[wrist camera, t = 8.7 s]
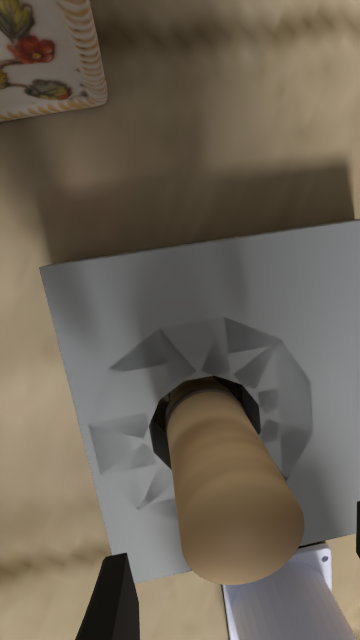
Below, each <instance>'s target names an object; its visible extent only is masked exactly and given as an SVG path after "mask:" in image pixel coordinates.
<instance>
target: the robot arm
mask: <svg viewBox="0 0 360 640" xmlns="http://www.w3.org/2000/svg"><path fill="white" fill-rule="evenodd" d="M356 553H357V554H358V556H359V558H360V501H358V502H357V531H356ZM222 585H223V593H224V600H225V607H226V614H227V621H228V629H229V636H230V640H357V639H356V637H355V635H354V633H353V631H352V629H351V628H350V626H349V624H348V622H347V620H346V618H345V616H344V615H343V613H342V611H341V609H340V607H339V605H338V603H337V602H336V600H335V598H334V596H333V594H332V581H331V549H330V548H329V546H328V545H327V544H325V543H321V544H317V545H313V546H308V547H304V548H300V549H297V551H296V552H295V553H294V555H293V556H292V557H291V558H290V560H289V561H288V562H287V563H286V564H285V565H284V566H282V567H281V568H280V569H278V570H277V571H276V572H274V573H272V574H271V575H269V576H267V577H265V578H262V579H260V580H257V581H254V582H250V583H246V584H239V585H224V584H222ZM75 640H140V628H139V601H138V597H137V593H136V589H135V585H134V580H133V576H132V572H131V568H130V564H129V559H128V555H127V552H126V553H121V554H117V555H112V556H108V557H106V558H105V559H104V560H103V562H102V566H101V569H100V572H99V576H98V579H97V582H96V585H95V588H94V591H93V594H92V596H91V599H90V602H89V605H88V608H87V610H86V613H85V616H84V619H83V621H82V624H81V626H80V629H79V631H78V634H77V636H76V639H75Z"/></svg>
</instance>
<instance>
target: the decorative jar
mask: <svg viewBox="0 0 360 640" xmlns="http://www.w3.org/2000/svg"><path fill="white" fill-rule="evenodd" d="M98 43H99V41H98V38H97V33H96V28H95V24H94V19H93V14H92V10H91V4H90V0H0V122H2V121H8V120H15V119H22V118H28V117H33V116H39V115H45V114H50V113H57V112H64V111H68V110H77V109H84V108H91V107H96V106H100V105H102V104H105V103H106V102H107V100H108V89H107V84H106V80H105V75H104V68H103V64H102V58H101V53H100V47H99V44H98Z"/></svg>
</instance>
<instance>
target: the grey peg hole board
mask: <svg viewBox="0 0 360 640" xmlns="http://www.w3.org/2000/svg"><path fill="white" fill-rule="evenodd" d="M39 269H40V273H41V277H42V281H43V285H44V289H45V293H46V297H47V301H48V305H49V309H50V313H51V316H52V320H53V324H54V328H55V332H56V336H57V340H58V344H59V348H60V352H61V356H62V360H63V363H64V367H65V371H66V375H67V379H68V383H69V387H70V391H71V395H72V399H73V403H74V407H75V410H76V414H77V418H78V422H79V426H80V430H81V434H82V438H83V442H84V446H85V450H86V454H87V457H88V461H89V465H90V469H91V473H92V477H93V481H94V485H95V489H96V493H97V497H98V501H99V505H100V508H101V512H102V516H103V520H104V524H105V528H106V532H107V536H108V540H109V544H110V548H111V552H112V555H117V554H121V553H126V552H127V555H128V559H129V564H130V568H131V572H132V576H133V580H134V584H136V583H140V582H145V581H149V580H154V579H158V578H162V577H167V576H171V575H175V574H180V573H184V572H189V571H193V570H192V569H191V568H190V567H189V566H188V564H187V563H186V561H185V559H184V556H183V553H182V549H181V541H180V533H179V525H178V517H177V509H176V501H175V493H174V485H173V477H172V468H171V460H170V452H169V444H168V441H167V436H166V433H165V432H164V431H163V430H162V429H161V428H160V427H159V426H158V425H157V424H156V423H155V422H154V421H153V420H152V417H153V415H154V412H155V410H156V408H157V405H158V403H159V400H160V399H161V398H163V397H164V396H165V395H167V394H168V393H169V392H171V391H172V390H173V389H174V388H176V387H177V386H178V385H180V384H181V383H182V382H184V381H187V380H192V379H198V378H204V377H209V376H218V377H221V378H224V379H227V380H230V381H233V382H236V383H239V384H241V387H242V398H243V403H242V407H243V409H244V411H245V413H246V416H247V417H248V419H249V421H250V422H251V424H252V426H253V427H254V429H255V431H256V433H257V434H258V436H259V438H260V439H261V441H262V443H263V444H264V446H265V448H266V449H267V451H268V453H269V454H270V456H271V458H272V459H273V461H274V463H275V465H276V466H277V468H278V470H279V471H280V473H281V475H282V476H283V478H284V480H285V481H286V483H287V485H288V486H289V488H290V490H291V491H292V493H293V495H294V497H295V498H296V500H297V502H298V503H299V505H300V507H301V509H302V511H303V515H304V522H305V527H304V534H303V538H302V541H301V543H300V545H299V546H303V545H307V544H311V543H316V542H320V541H325V540H329V539H333V538H338V537H342V536H346V535H351V534H355V533H356V531H357V502H358V501H360V219H355V220H348V221H341V222H334V223H328V224H321V225H314V226H307V227H300V228H293V229H286V230H279V231H273V232H266V233H259V234H252V235H245V236H238V237H231V238H224V239H218V240H211V241H204V242H197V243H190V244H183V245H176V246H169V247H163V248H156V249H149V250H142V251H135V252H128V253H121V254H114V255H108V256H101V257H94V258H87V259H80V260H73V261H66V262H59V263H55V264H51V265H47V266H43V267H39Z"/></svg>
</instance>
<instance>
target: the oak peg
mask: <svg viewBox="0 0 360 640" xmlns="http://www.w3.org/2000/svg"><path fill="white" fill-rule="evenodd" d="M165 419H166V436H167V441H168V444H169V452H170V460H171V468H172V477H173V485H174V493H175V501H176V509H177V517H178V525H179V533H180V541H181V549H182V553H183V556H184V559H185V561H186V563H187V564H188V566H189V567H190V568H191V569H192V570H193V571H194V572H195V573H196V574H197V575H199V576H200V577H202V578H204V579H206V580H208V581H211V582H214V583H218V584H224V585H239V584H246V583H250V582H254V581H257V580H260V579H262V578H265V577H267V576H269V575H271V574H272V573H274V572H276V571H277V570H278V569H280V568H281V567H282V566H284V565H285V564H286V563H287V562H288V561H289V560H290V558H291V557H292V556H293V555H294V553H295V552H296V551H297V549H298V547H299V545H300V543H301V541H302V538H303V534H304V527H305V522H304V515H303V511H302V509H301V507H300V505H299V503H298V502H297V500H296V498H295V497H294V495H293V493H292V491H291V490H290V488H289V486H288V485H287V483H286V481H285V480H284V478H283V476H282V475H281V473H280V471H279V470H278V468H277V466H276V465H275V463H274V461H273V459H272V458H271V456H270V454H269V453H268V451H267V449H266V448H265V446H264V444H263V443H262V441H261V439H260V438H259V436H258V434H257V433H256V431H255V429H254V427H253V426H252V424H251V422H250V421H249V419H248V417H247V416H246V413H245V411H244V409H243V407H242V405H241V404H240V402H239V401H238V400H237V398H236V397H235V396H234V394H233V393H232V392H231V391H230V390H229V389H228V388H227V387H225V386H223V385H221V384H220V383H219V382H218V381H217V380H216V379H215V378H214V377H212V376H209V377H204V378H198V379H192V380H187V381H184V382H182V383H181V384H180V385H178V386H177V387H176V388H174V389H173V390H172V391H171V393H170V402H169V404H168V406H167V410H166V416H165Z"/></svg>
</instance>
